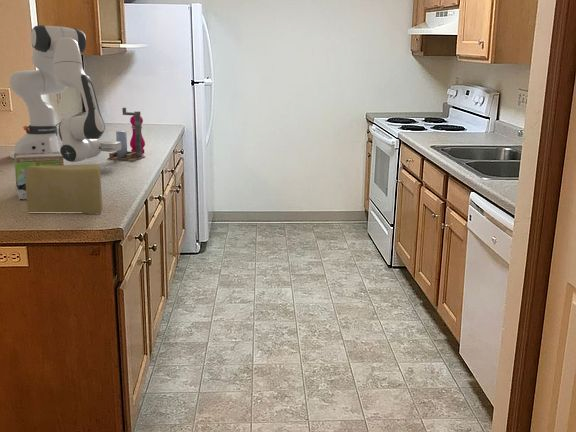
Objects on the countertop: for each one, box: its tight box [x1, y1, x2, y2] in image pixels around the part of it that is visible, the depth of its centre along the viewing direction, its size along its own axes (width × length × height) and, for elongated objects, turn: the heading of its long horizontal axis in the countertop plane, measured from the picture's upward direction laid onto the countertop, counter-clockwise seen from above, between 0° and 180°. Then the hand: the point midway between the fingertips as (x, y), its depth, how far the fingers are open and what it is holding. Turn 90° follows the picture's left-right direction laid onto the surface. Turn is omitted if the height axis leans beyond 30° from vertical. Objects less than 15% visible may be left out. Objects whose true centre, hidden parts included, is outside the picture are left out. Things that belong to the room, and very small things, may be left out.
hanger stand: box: [107, 107, 146, 162], centre depth 282 cm, size 12×13×23 cm
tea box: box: [13, 152, 65, 200], centre depth 212 cm, size 15×10×15 cm
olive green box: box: [26, 163, 103, 214], centre depth 192 cm, size 22×10×15 cm, turn 102°
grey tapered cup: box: [115, 130, 128, 158], centre depth 283 cm, size 5×5×12 cm
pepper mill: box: [129, 115, 146, 155], centre depth 297 cm, size 7×7×20 cm
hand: (107, 142), depth 271 cm, fingers open, 8 cm apart
